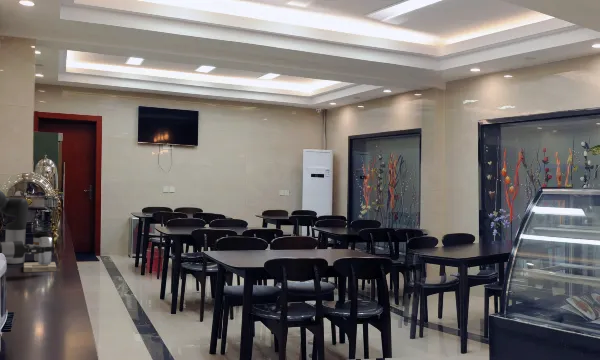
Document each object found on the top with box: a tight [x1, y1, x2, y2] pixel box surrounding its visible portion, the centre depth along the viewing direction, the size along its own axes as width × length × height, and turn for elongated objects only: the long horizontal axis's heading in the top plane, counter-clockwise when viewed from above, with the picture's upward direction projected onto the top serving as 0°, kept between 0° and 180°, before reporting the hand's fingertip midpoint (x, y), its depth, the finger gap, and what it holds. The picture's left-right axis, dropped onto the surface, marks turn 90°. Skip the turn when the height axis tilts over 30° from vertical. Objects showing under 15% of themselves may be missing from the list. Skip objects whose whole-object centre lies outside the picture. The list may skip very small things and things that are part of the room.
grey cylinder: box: [37, 236, 54, 265], centre depth 263 cm, size 6×5×12 cm
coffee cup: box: [32, 231, 51, 262], centre depth 309 cm, size 8×8×15 cm
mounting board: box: [23, 261, 57, 273], centre depth 279 cm, size 18×14×2 cm
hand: (50, 248), depth 265 cm, fingers closed on grey cylinder, 5 cm apart
